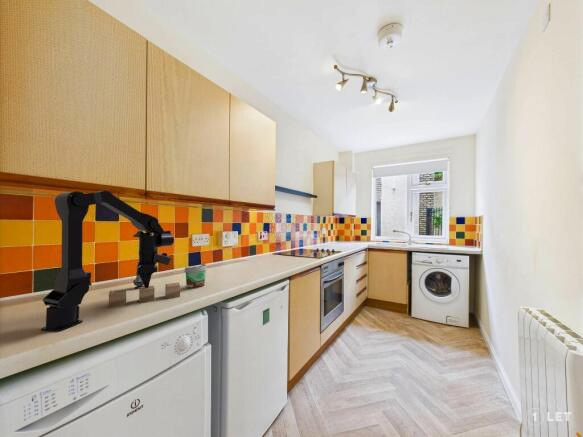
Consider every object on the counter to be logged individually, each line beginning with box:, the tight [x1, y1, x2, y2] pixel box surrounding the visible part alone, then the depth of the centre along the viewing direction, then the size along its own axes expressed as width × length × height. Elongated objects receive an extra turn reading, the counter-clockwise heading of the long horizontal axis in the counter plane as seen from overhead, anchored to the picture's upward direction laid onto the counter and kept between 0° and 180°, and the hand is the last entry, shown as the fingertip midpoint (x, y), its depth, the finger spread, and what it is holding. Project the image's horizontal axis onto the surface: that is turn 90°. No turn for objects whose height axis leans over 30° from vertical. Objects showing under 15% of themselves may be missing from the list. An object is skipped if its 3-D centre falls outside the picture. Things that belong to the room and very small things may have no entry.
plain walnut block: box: [138, 285, 156, 304], centre depth 93 cm, size 5×5×5 cm
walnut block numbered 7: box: [108, 288, 127, 309], centre depth 88 cm, size 5×5×5 cm
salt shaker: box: [132, 264, 145, 290], centre depth 112 cm, size 6×6×12 cm
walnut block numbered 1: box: [164, 282, 181, 300], centre depth 98 cm, size 5×5×5 cm
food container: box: [184, 263, 208, 290], centre depth 114 cm, size 12×6×10 cm, turn 161°
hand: (146, 287), depth 93 cm, fingers closed
